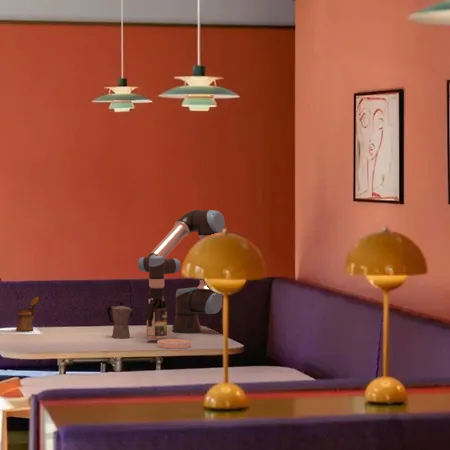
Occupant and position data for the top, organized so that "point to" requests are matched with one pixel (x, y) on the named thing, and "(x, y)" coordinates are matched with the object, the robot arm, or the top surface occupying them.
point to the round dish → (174, 343)
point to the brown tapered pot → (27, 317)
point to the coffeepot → (120, 321)
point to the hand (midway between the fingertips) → (156, 331)
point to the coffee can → (159, 323)
